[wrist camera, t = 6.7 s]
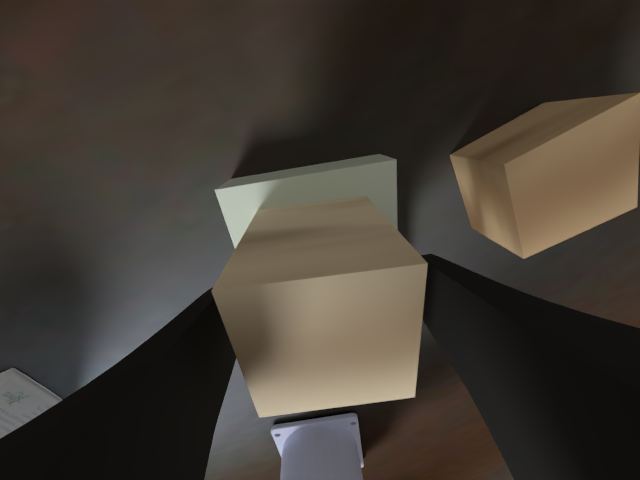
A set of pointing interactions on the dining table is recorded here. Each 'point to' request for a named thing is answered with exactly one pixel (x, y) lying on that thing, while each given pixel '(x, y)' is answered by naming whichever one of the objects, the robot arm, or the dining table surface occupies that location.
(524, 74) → the dining table surface
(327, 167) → the plinth block
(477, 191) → the oak block
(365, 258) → the maple block
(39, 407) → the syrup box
